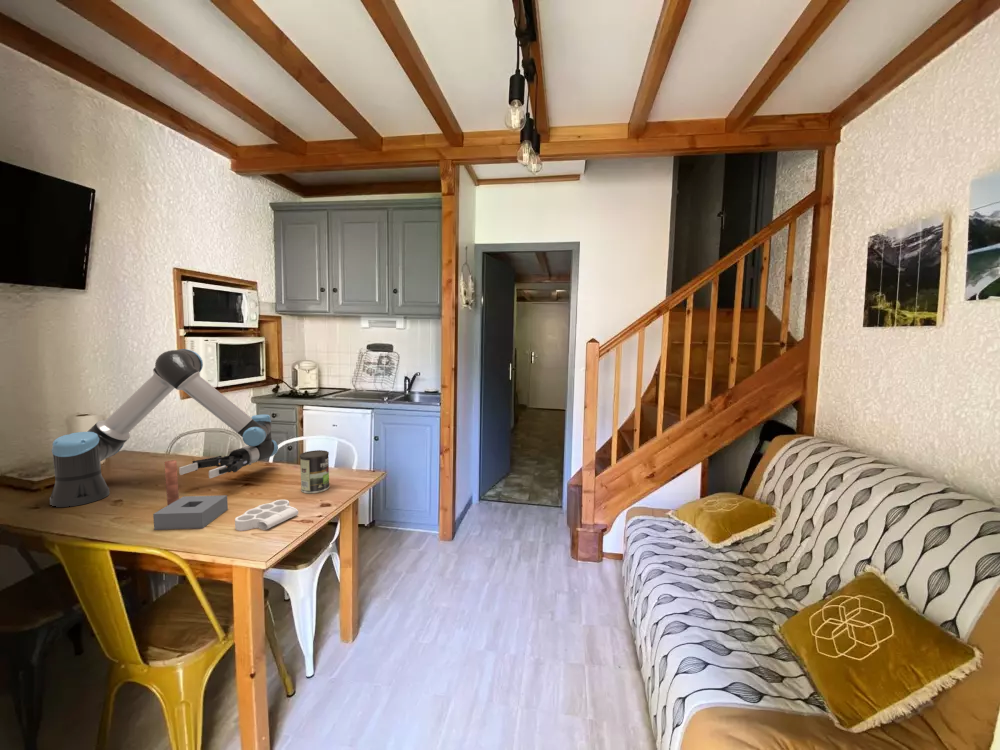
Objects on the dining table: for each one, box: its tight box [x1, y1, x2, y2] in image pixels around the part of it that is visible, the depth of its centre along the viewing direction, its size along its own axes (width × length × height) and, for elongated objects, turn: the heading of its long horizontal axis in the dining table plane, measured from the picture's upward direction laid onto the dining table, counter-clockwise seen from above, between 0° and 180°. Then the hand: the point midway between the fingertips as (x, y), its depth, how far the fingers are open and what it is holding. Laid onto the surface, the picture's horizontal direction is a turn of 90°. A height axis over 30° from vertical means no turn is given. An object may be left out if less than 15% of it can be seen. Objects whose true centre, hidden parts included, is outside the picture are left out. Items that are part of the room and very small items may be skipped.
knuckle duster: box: [234, 499, 299, 532], centre depth 135 cm, size 3×18×15 cm
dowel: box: [164, 459, 180, 506], centre depth 144 cm, size 3×3×16 cm
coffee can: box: [299, 449, 330, 494], centre depth 162 cm, size 10×10×14 cm
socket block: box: [152, 494, 229, 531], centre depth 134 cm, size 14×14×5 cm
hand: (194, 472), depth 151 cm, fingers open, 13 cm apart
